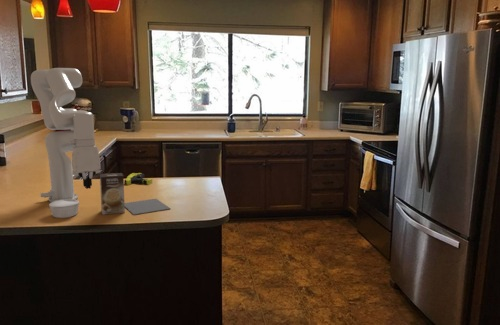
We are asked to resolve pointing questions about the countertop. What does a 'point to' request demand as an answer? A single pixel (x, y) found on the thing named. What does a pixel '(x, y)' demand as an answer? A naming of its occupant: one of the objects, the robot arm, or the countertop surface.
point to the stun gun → (137, 179)
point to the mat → (145, 206)
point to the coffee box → (112, 193)
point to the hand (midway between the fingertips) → (87, 187)
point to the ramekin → (64, 208)
